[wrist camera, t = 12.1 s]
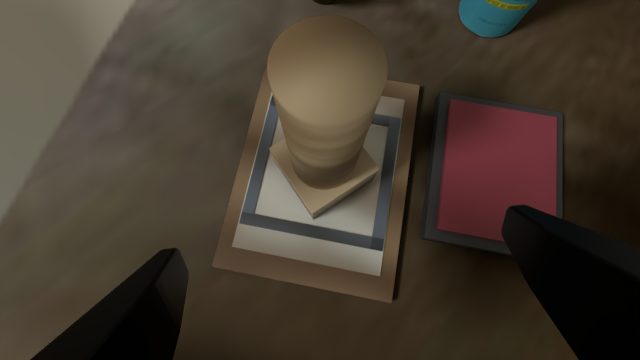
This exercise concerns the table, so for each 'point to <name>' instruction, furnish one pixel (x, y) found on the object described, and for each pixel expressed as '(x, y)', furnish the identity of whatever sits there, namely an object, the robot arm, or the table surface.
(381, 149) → the wooden picture frame
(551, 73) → the table surface
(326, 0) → the cup
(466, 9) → the tube
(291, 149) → the stamp
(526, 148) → the ink pad
